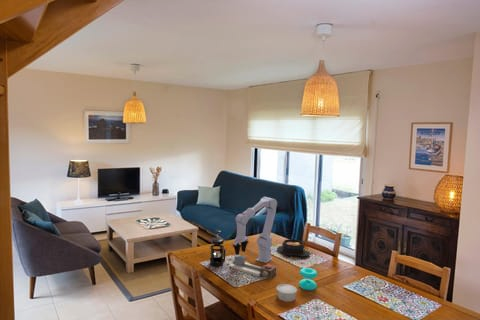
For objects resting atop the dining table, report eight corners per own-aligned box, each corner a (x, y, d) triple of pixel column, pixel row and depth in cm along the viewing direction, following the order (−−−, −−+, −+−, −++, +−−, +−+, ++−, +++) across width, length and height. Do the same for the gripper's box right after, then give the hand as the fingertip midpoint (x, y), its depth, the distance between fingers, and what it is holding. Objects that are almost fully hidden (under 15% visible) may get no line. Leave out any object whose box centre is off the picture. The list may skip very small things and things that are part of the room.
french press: (205, 264, 218) (206, 230, 216) (214, 260, 226) (215, 227, 224) (219, 269, 211) (221, 234, 209) (228, 264, 219) (229, 230, 217)
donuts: (312, 266, 196) (320, 273, 187) (311, 282, 197) (319, 290, 188) (297, 267, 194) (304, 274, 184) (296, 284, 195) (303, 292, 185)
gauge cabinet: (266, 271, 210) (266, 264, 210) (275, 274, 206) (276, 266, 206) (259, 276, 203) (260, 268, 203) (269, 279, 200) (270, 271, 199)
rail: (237, 262, 223) (237, 258, 223) (266, 270, 211) (266, 266, 211) (229, 267, 215) (229, 262, 214) (258, 276, 203) (258, 271, 203)
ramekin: (282, 290, 186) (283, 281, 185) (300, 297, 179) (300, 288, 178) (271, 297, 177) (272, 288, 177) (289, 305, 170) (290, 295, 170)
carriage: (237, 262, 219) (237, 254, 219) (245, 264, 216) (245, 256, 216) (234, 263, 216) (234, 256, 215) (242, 266, 213) (242, 258, 212)
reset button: (266, 271, 208) (267, 264, 207) (272, 273, 206) (272, 265, 205) (263, 273, 204) (264, 266, 204) (269, 275, 202) (269, 267, 202)
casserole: (272, 252, 245) (272, 241, 244) (283, 246, 260) (284, 235, 259) (303, 261, 231) (304, 249, 230) (313, 253, 246) (314, 242, 245)
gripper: (241, 229, 223) (241, 248, 224) (229, 234, 210) (229, 254, 211) (250, 231, 219) (249, 250, 220) (239, 236, 207) (238, 257, 208)
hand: (240, 252), depth 215 cm, fingers open, 7 cm apart
